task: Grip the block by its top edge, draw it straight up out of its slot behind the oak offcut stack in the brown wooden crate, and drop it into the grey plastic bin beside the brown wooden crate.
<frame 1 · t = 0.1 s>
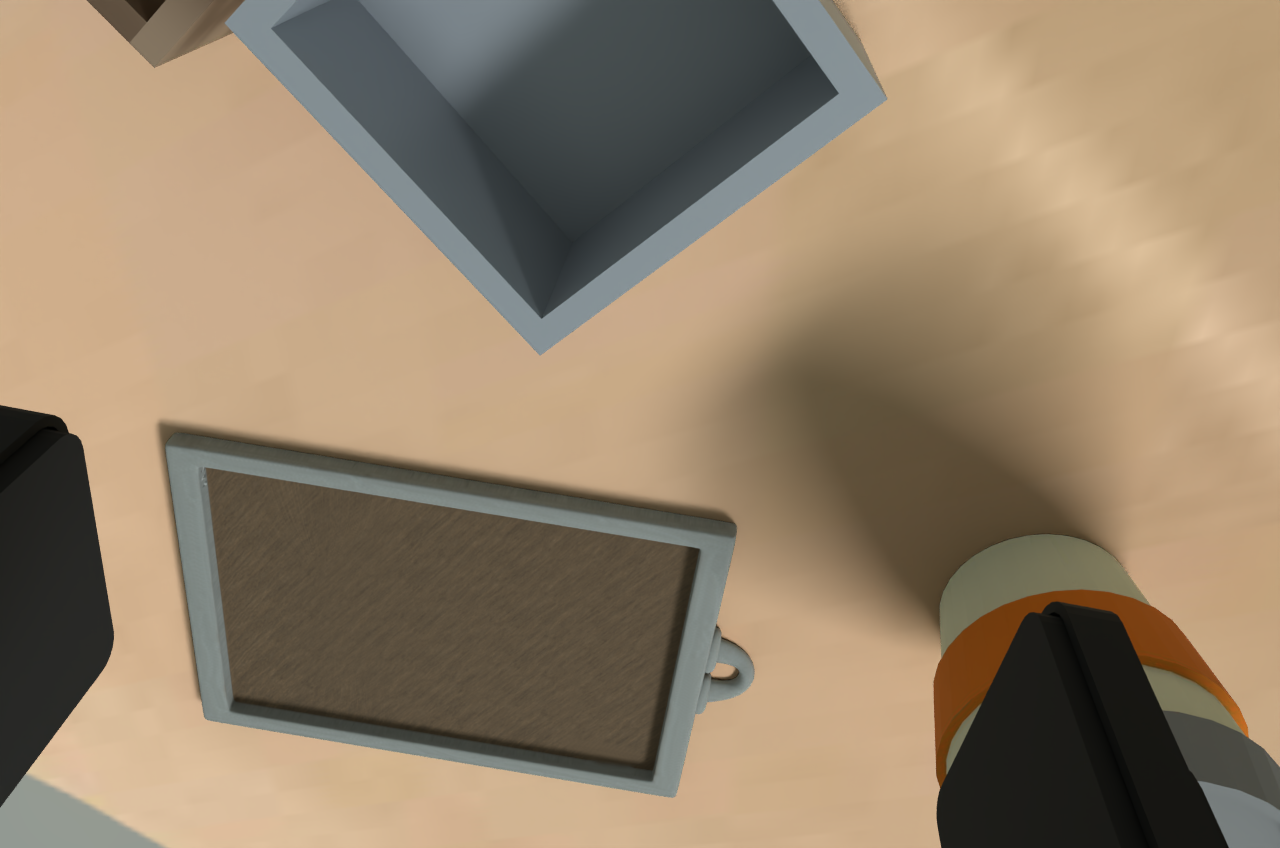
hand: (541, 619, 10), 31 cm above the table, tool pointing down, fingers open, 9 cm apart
reusable coffee cup: (1033, 604, 49), on the table
grey flat rectangular tray: (476, 618, 54), on the table
bin: (589, 12, 37), on the table
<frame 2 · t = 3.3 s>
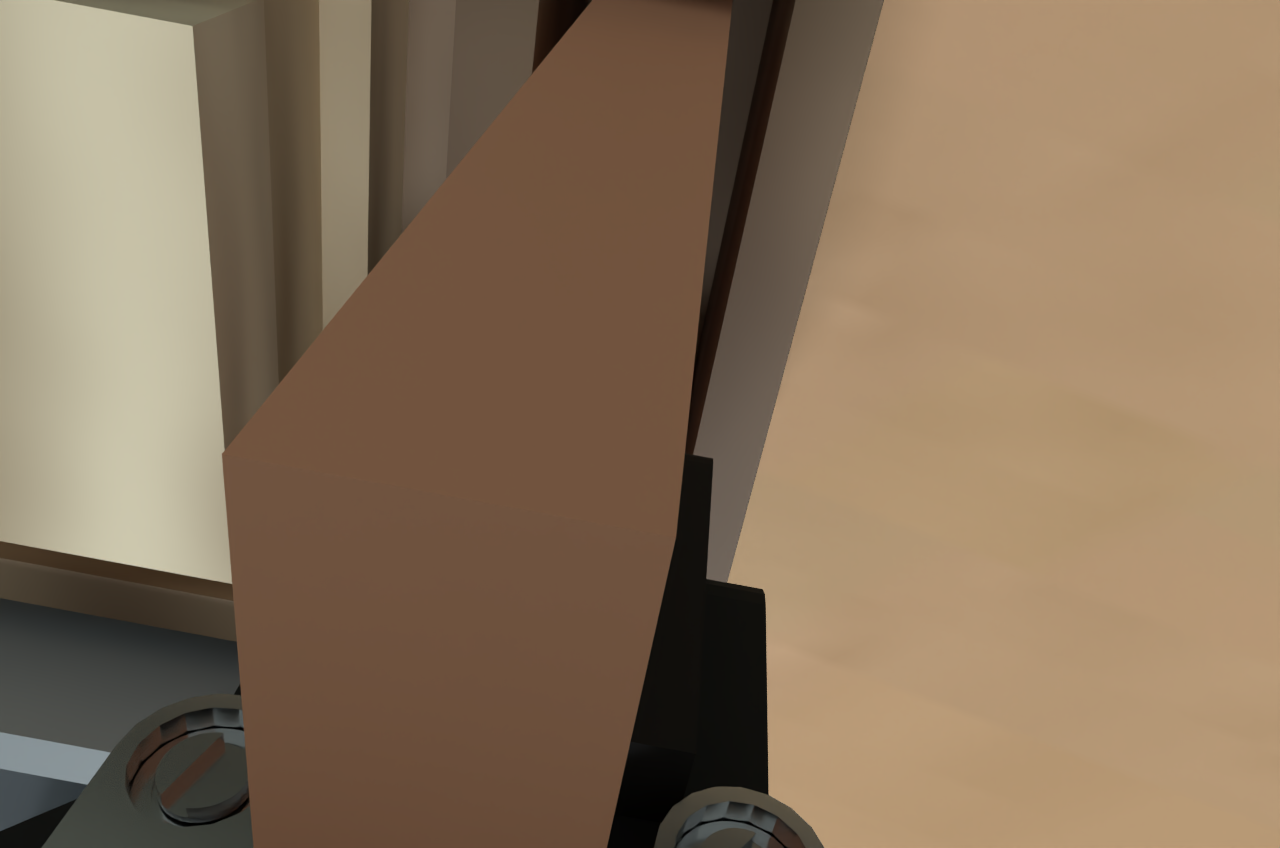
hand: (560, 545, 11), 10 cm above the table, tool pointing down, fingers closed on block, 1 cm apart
offcut stack: (138, 147, 19), point 1 cm above the table, touching brown wooden crate
brown wooden crate: (266, 151, 20), on the table
block: (639, 241, 19), point 1 cm above the table, touching gripper
bin: (324, 692, 28), on the table
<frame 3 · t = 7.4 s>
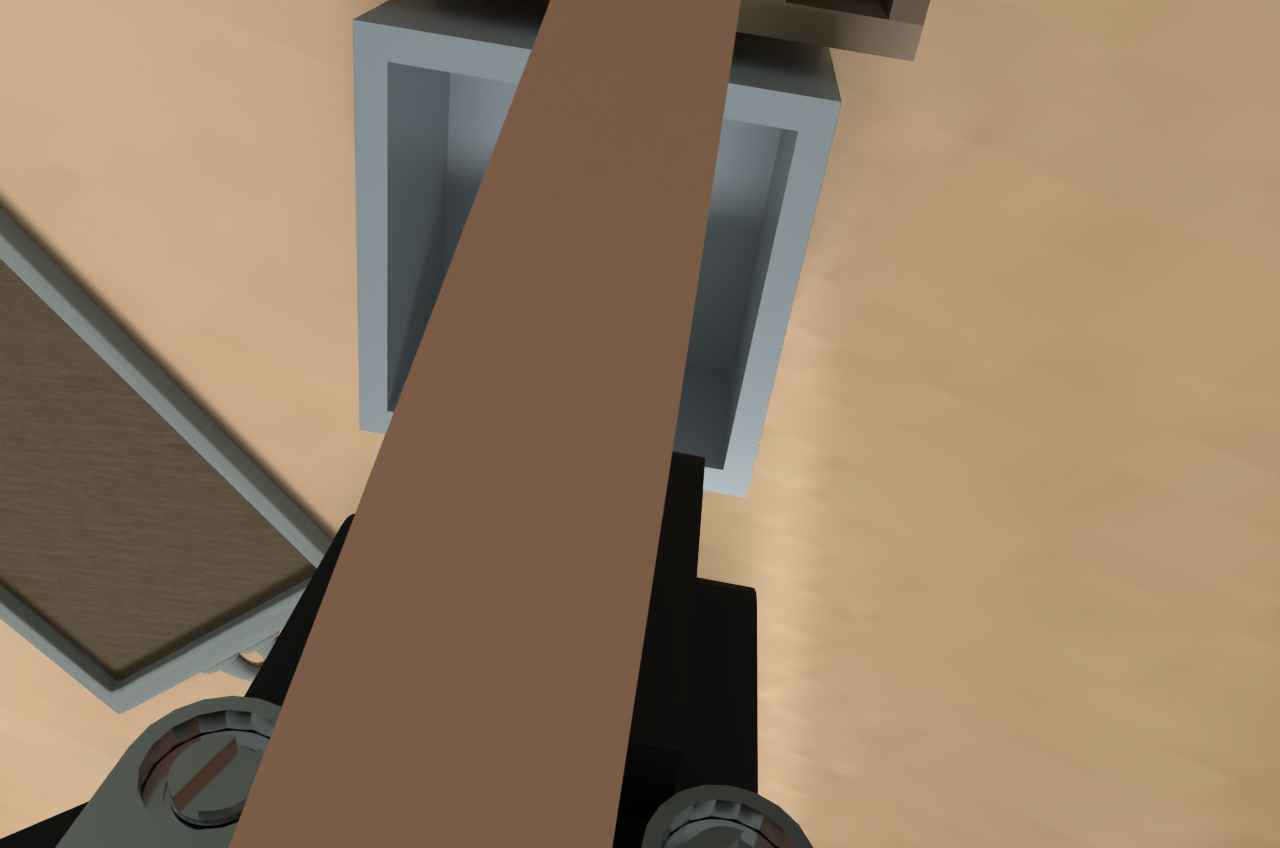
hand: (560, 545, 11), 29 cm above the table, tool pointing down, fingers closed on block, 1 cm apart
block: (654, 132, 16), point 21 cm above the table, tilted 19°, touching gripper
grey flat rectangular tray: (69, 472, 50), on the table
bin: (605, 200, 39), on the table
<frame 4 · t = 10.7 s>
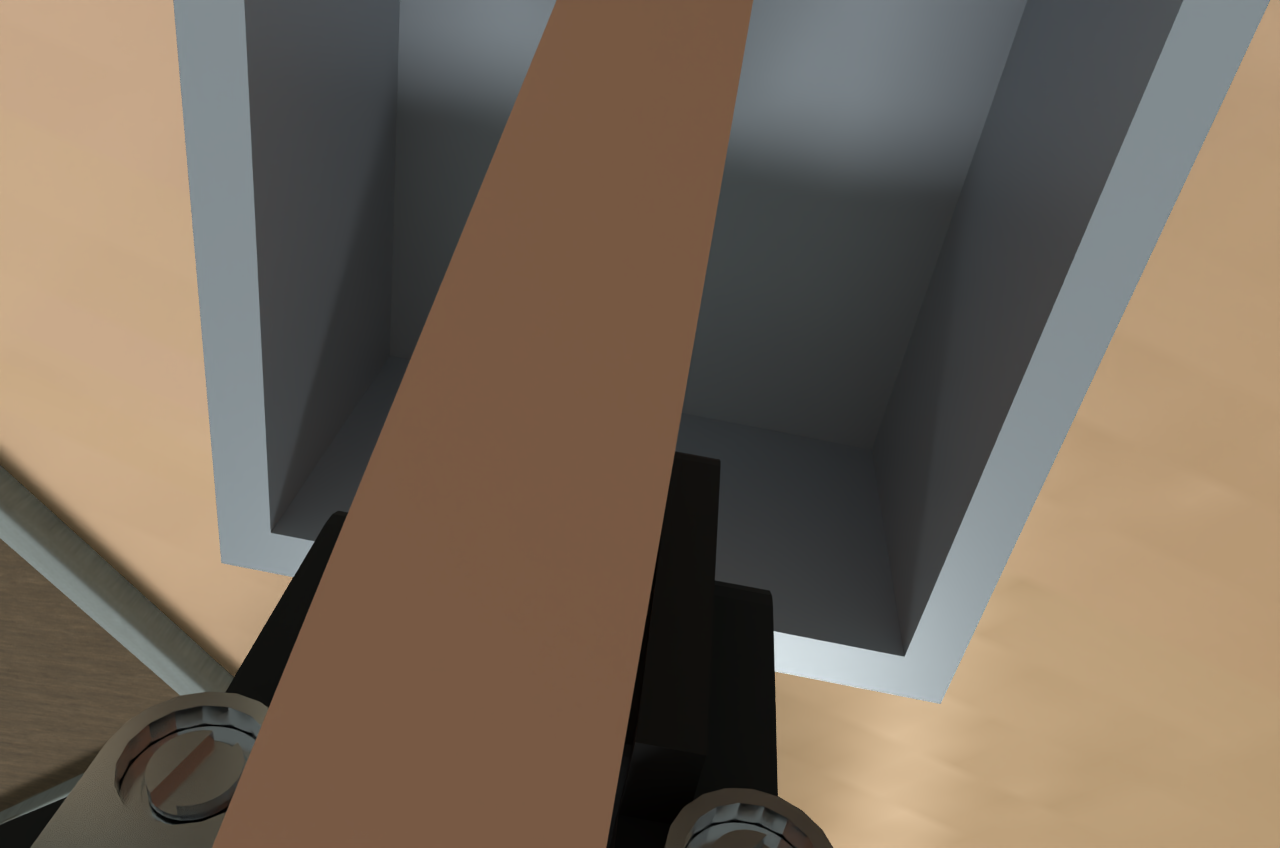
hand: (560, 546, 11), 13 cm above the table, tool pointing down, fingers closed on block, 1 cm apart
block: (662, 140, 15), point 7 cm above the table, tilted 20°, touching bin, gripper
bin: (677, 151, 22), on the table
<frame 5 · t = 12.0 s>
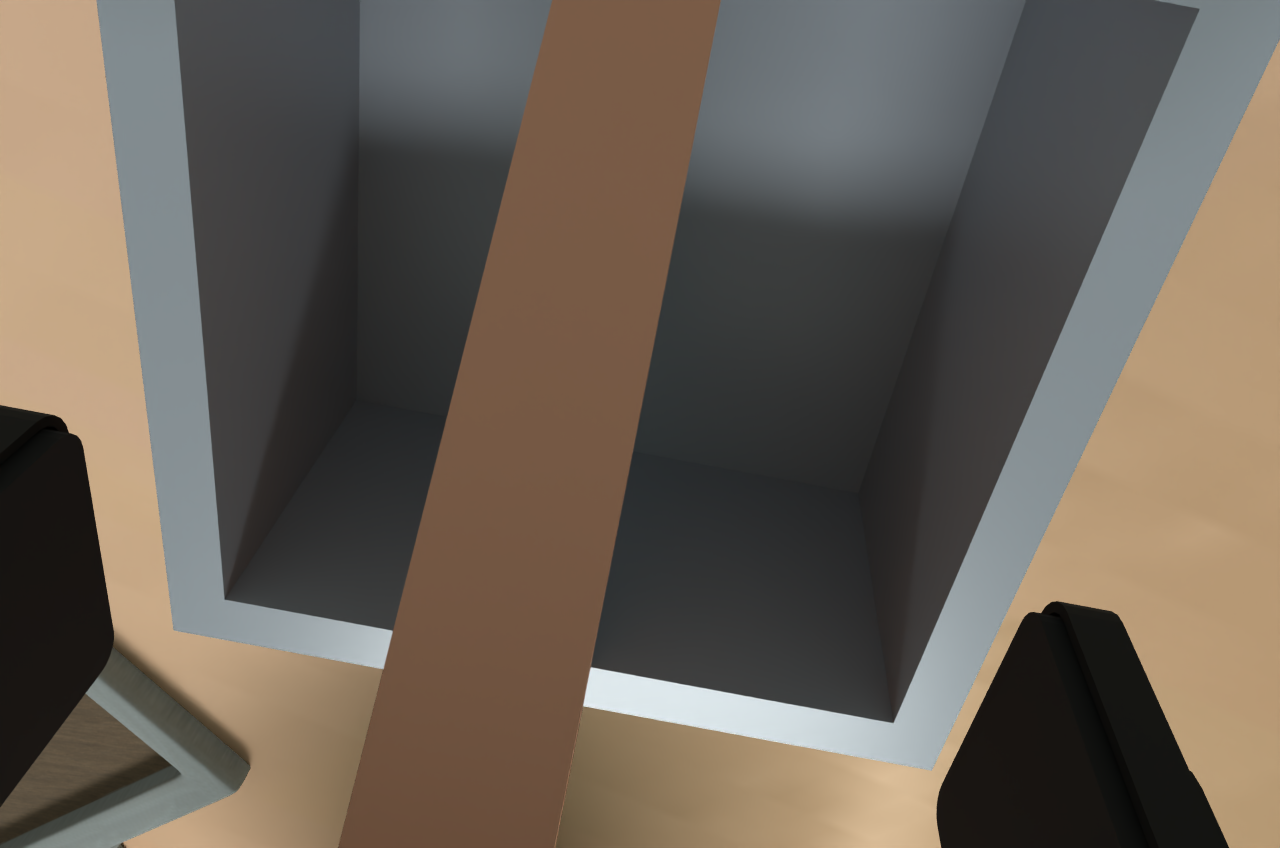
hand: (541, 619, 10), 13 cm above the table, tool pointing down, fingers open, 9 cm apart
block: (645, 108, 15), point 5 cm above the table, tilted 42°, touching bin
bin: (652, 188, 21), on the table
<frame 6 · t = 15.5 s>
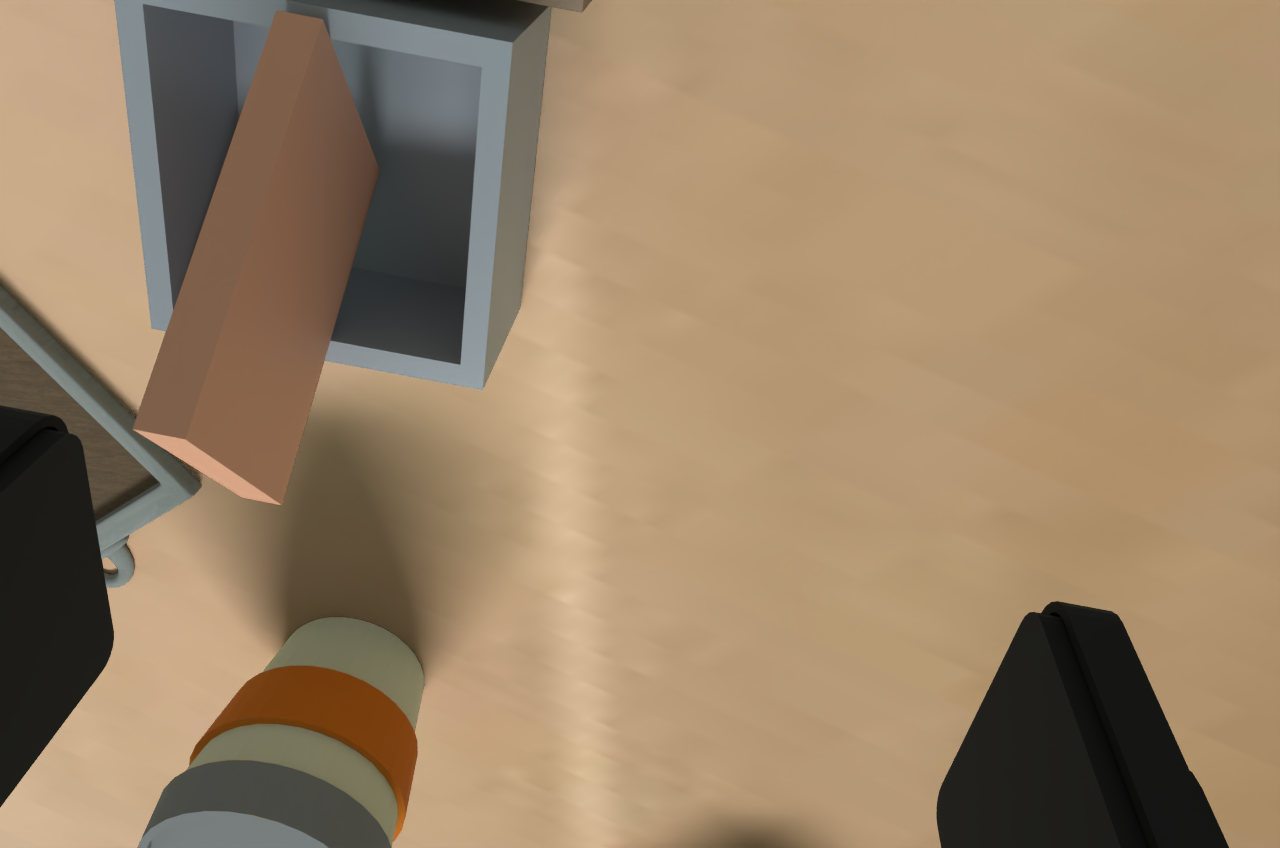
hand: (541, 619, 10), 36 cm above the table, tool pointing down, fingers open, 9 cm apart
reusable coffee cup: (355, 668, 63), on the table
block: (334, 100, 39), point 5 cm above the table, tilted 42°, touching bin
bin: (380, 139, 45), on the table
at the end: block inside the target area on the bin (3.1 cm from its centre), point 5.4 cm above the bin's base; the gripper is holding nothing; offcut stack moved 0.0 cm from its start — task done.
